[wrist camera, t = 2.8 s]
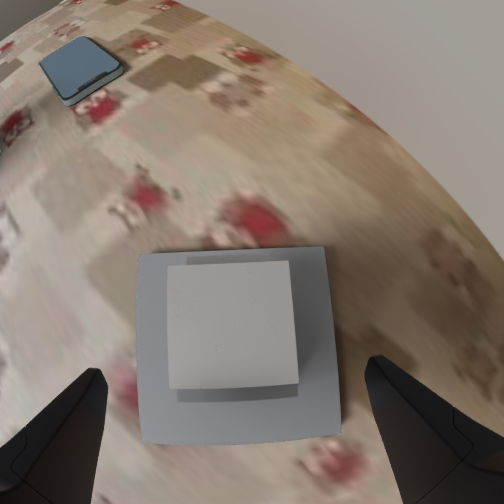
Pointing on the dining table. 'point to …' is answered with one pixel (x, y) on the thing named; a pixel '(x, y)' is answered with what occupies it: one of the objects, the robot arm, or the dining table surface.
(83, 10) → the dining table surface
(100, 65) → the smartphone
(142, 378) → the base
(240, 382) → the column
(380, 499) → the dining table surface
